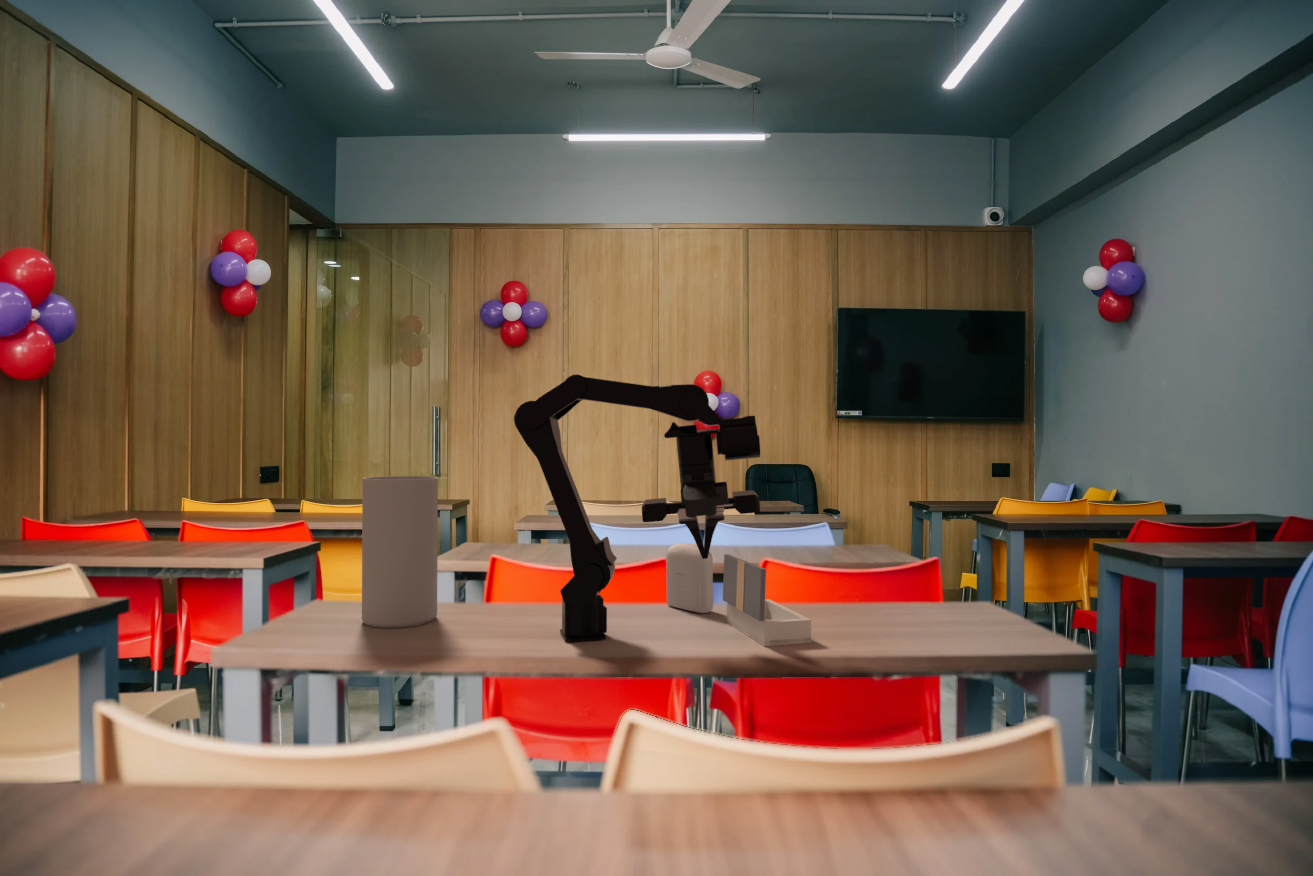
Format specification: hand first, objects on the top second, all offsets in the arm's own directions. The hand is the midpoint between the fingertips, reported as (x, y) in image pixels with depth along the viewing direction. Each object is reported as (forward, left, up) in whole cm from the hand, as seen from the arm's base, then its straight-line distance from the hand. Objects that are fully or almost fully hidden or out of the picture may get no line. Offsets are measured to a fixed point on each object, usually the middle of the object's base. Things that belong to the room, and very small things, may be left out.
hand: (705, 558), depth 123 cm
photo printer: (+4, +20, -13) cm, 24 cm away
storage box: (+11, 0, -13) cm, 17 cm away
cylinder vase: (-48, +24, -13) cm, 55 cm away
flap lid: (+7, 0, -5) cm, 8 cm away
